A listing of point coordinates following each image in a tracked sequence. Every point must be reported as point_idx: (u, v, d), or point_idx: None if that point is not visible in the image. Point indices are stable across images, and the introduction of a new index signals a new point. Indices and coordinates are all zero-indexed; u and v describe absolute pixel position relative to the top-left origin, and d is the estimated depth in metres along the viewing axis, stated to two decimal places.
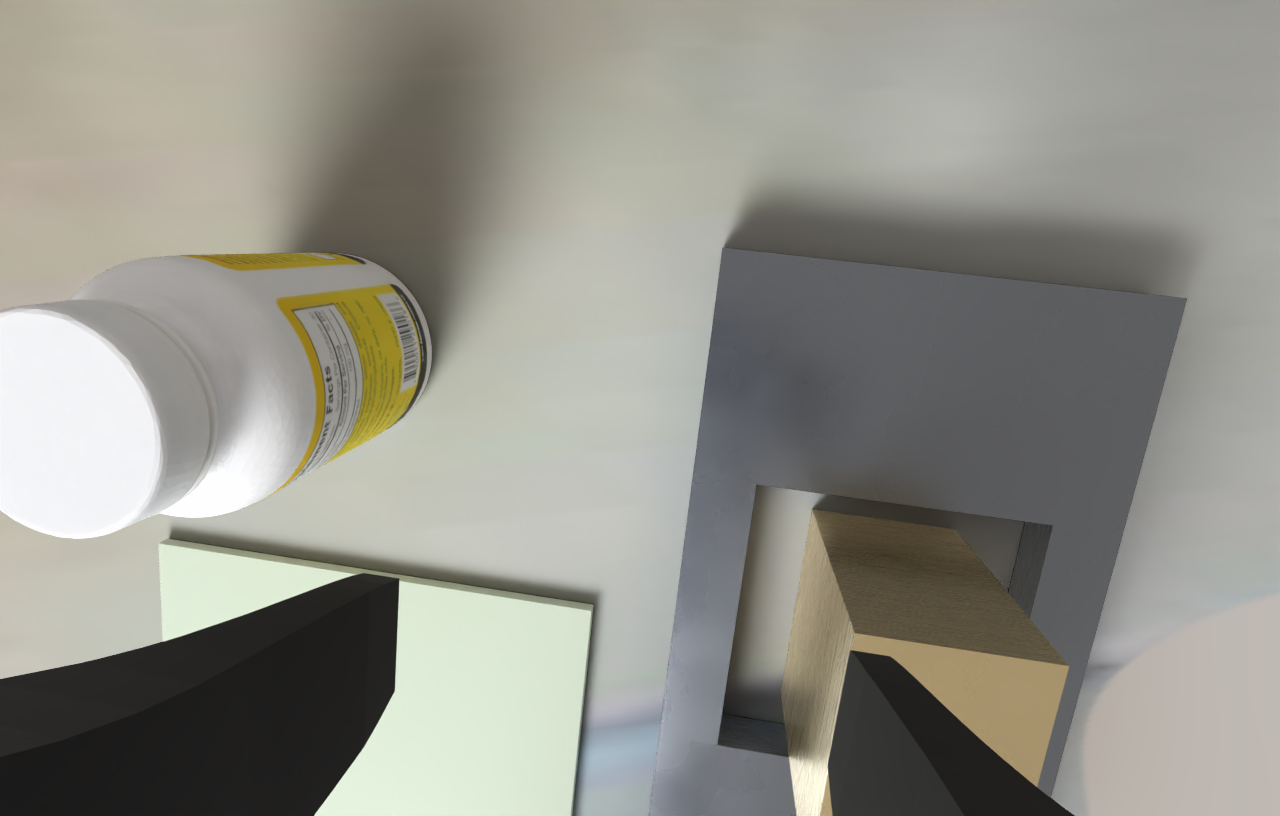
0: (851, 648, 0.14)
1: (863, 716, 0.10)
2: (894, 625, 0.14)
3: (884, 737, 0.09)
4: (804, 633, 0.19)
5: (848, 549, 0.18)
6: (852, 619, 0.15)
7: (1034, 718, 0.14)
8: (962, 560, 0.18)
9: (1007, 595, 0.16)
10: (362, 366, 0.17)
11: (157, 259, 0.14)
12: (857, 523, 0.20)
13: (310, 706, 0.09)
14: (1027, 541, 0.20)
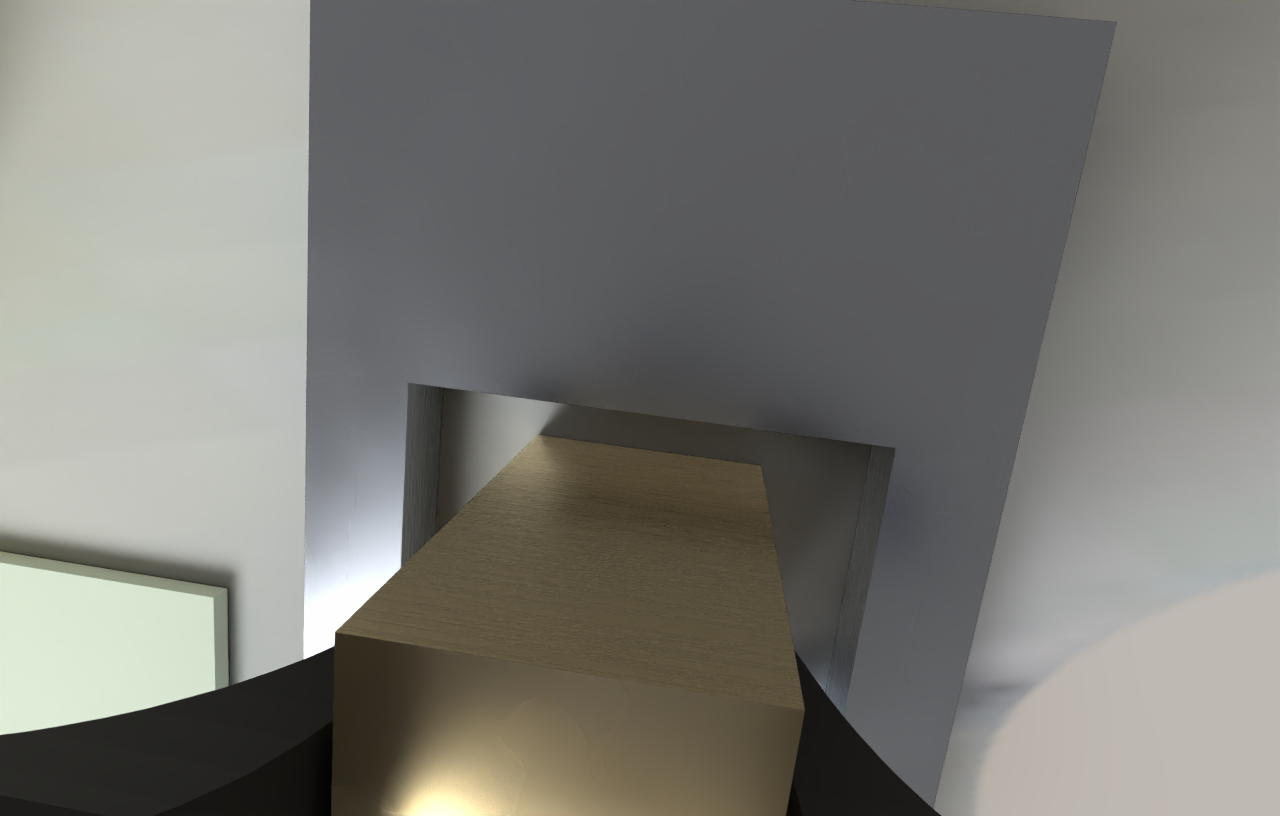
0: (337, 666, 0.06)
1: None
2: (457, 616, 0.07)
3: None
4: None
5: (530, 486, 0.10)
6: (371, 603, 0.07)
7: None
8: (733, 507, 0.10)
9: (773, 562, 0.09)
10: None
11: None
12: (595, 454, 0.12)
13: None
14: (870, 482, 0.12)
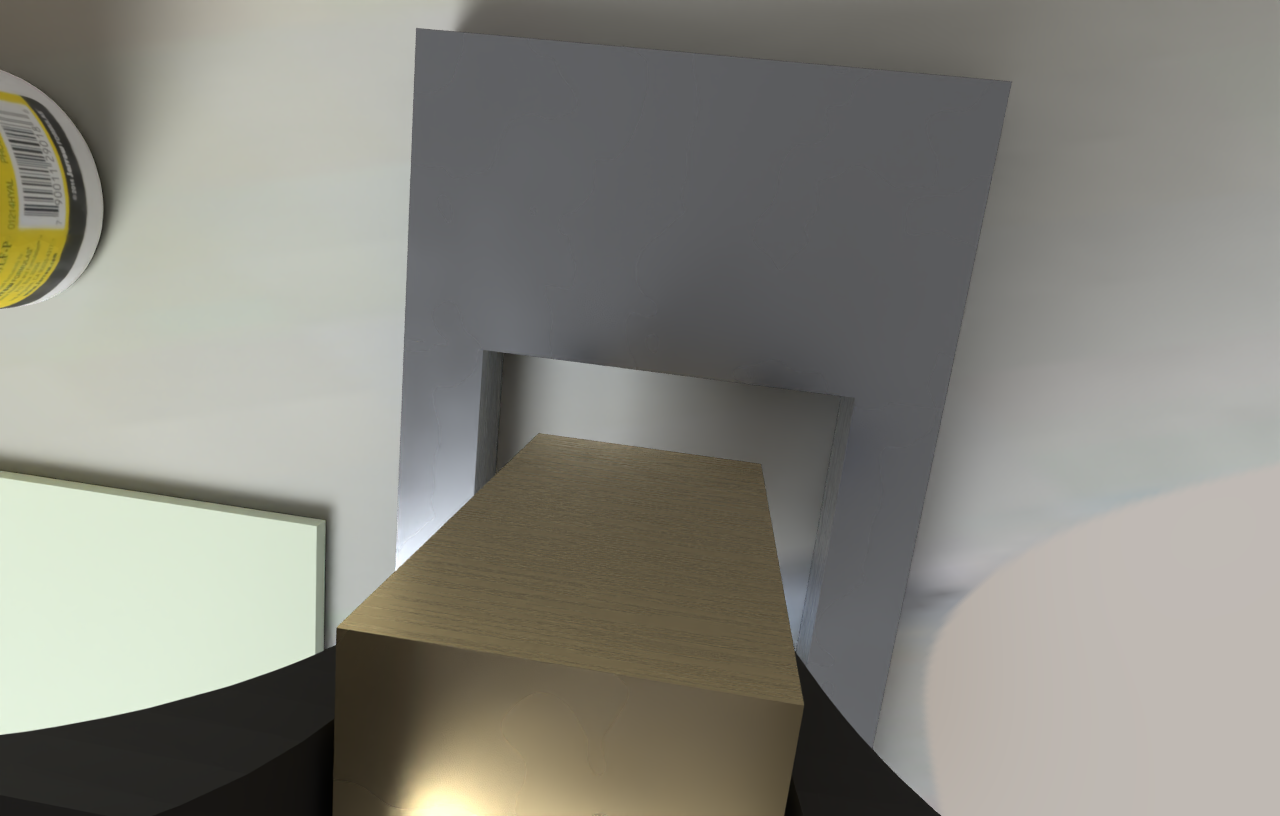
0: (339, 662, 0.06)
1: None
2: (458, 611, 0.07)
3: None
4: None
5: (531, 485, 0.10)
6: (373, 598, 0.07)
7: None
8: (732, 505, 0.10)
9: (772, 559, 0.09)
10: None
11: None
12: (596, 452, 0.12)
13: None
14: (838, 428, 0.16)
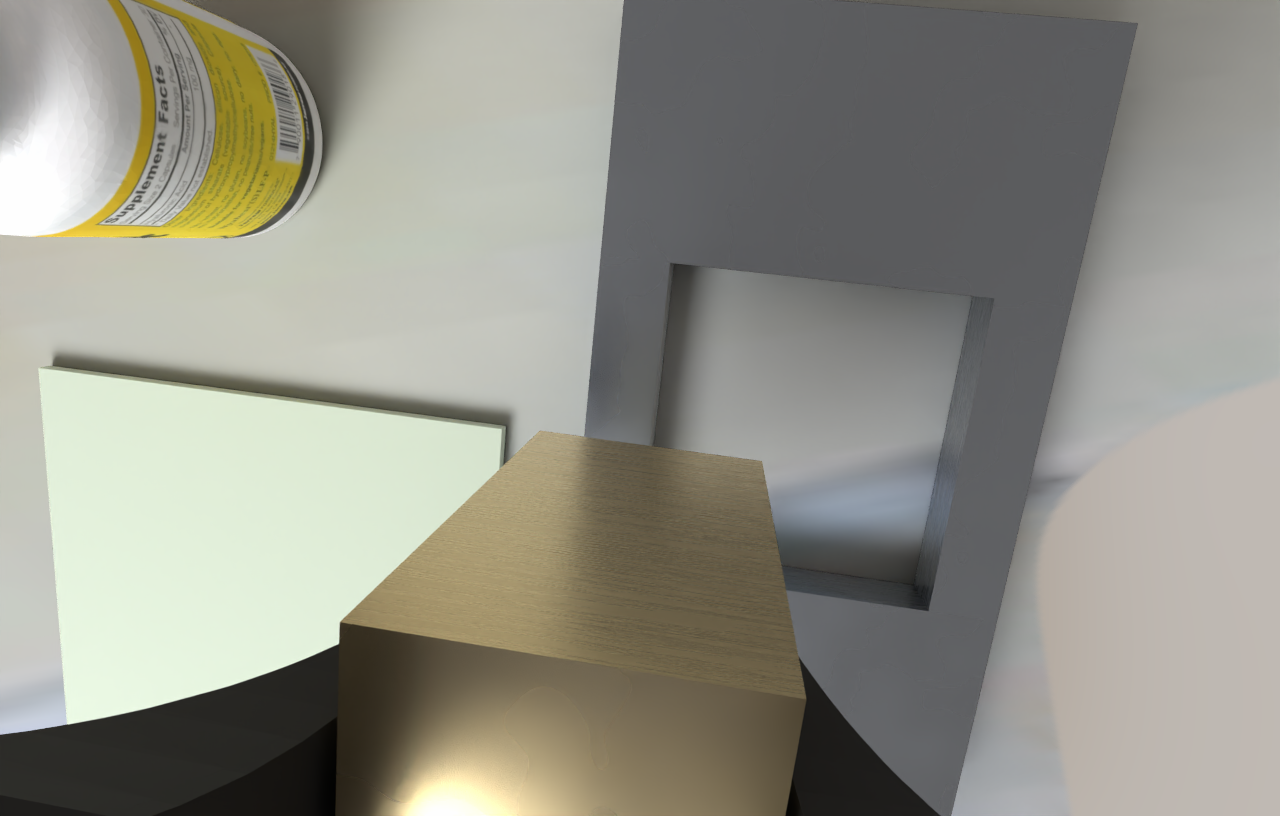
0: (342, 656, 0.06)
1: None
2: (461, 607, 0.07)
3: None
4: None
5: (532, 481, 0.10)
6: (375, 593, 0.07)
7: None
8: (734, 502, 0.10)
9: (774, 555, 0.09)
10: (215, 95, 0.15)
11: None
12: (597, 449, 0.12)
13: None
14: (970, 332, 0.18)
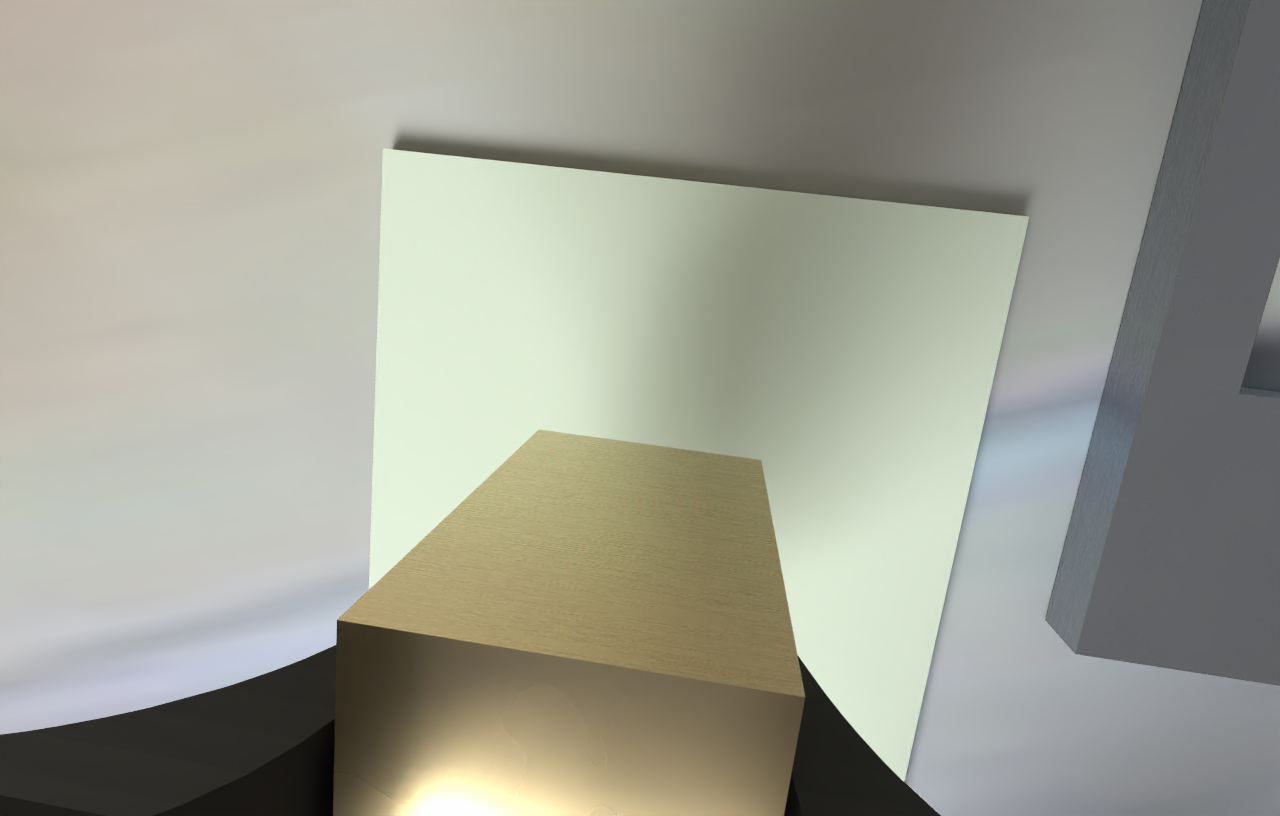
0: (340, 654, 0.06)
1: None
2: (459, 604, 0.07)
3: None
4: None
5: (531, 480, 0.10)
6: (372, 590, 0.07)
7: (739, 814, 0.06)
8: (734, 500, 0.10)
9: (773, 553, 0.09)
10: None
11: None
12: (596, 448, 0.12)
13: None
14: None
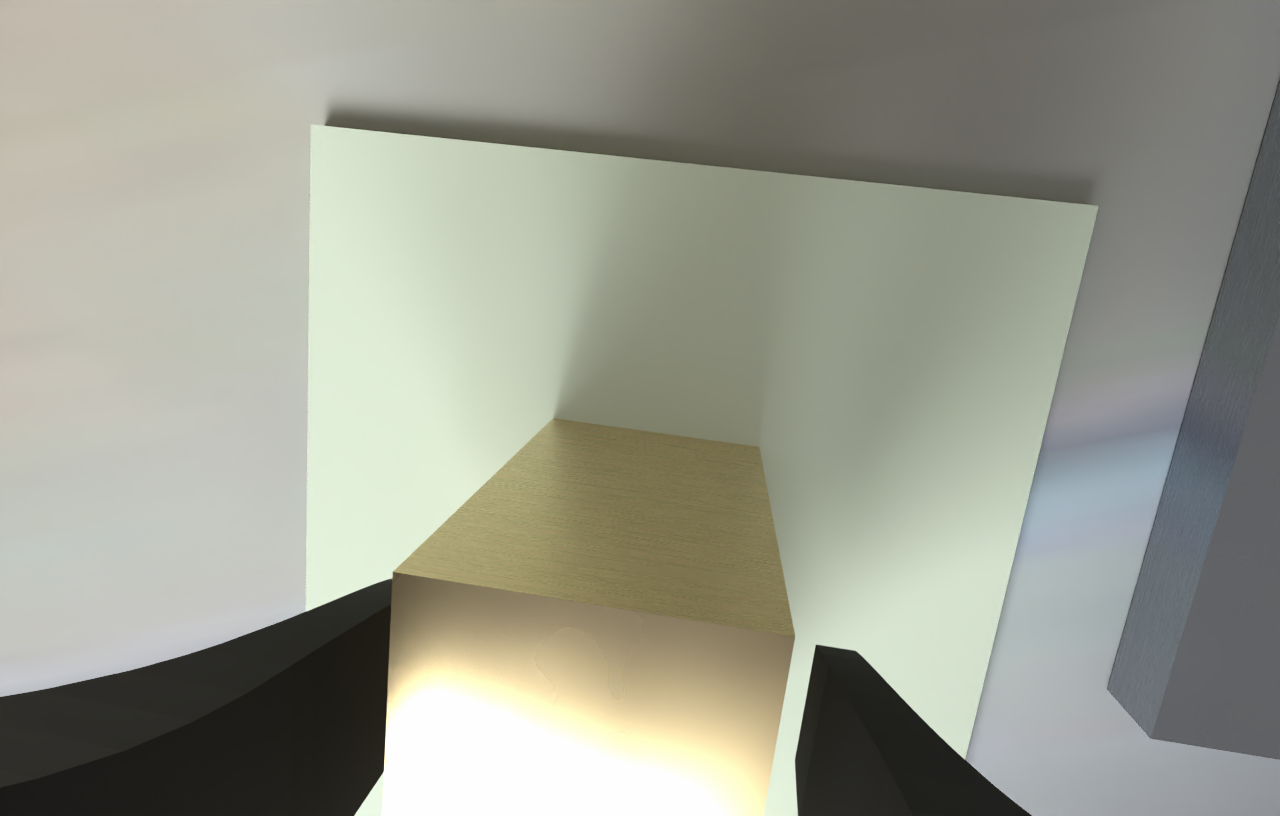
0: (394, 602, 0.07)
1: (825, 710, 0.10)
2: (495, 562, 0.08)
3: (842, 730, 0.09)
4: None
5: (549, 461, 0.11)
6: (421, 550, 0.08)
7: (738, 739, 0.07)
8: (733, 480, 0.11)
9: (769, 525, 0.10)
10: None
11: None
12: (606, 435, 0.13)
13: (347, 713, 0.09)
14: None
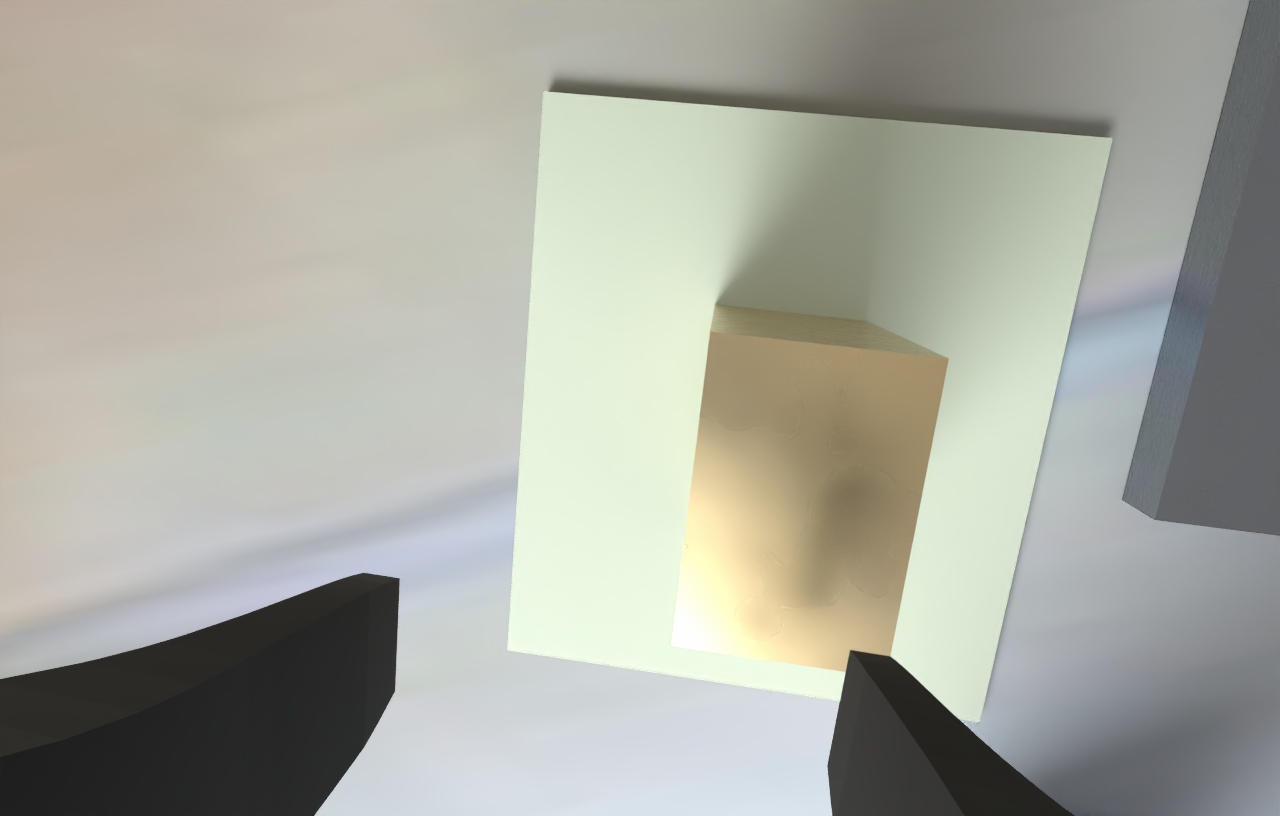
0: (708, 351, 0.13)
1: (863, 716, 0.10)
2: (759, 333, 0.13)
3: (884, 737, 0.09)
4: None
5: (739, 315, 0.16)
6: (713, 328, 0.13)
7: (913, 425, 0.12)
8: (864, 327, 0.17)
9: (903, 338, 0.15)
10: None
11: None
12: (760, 311, 0.18)
13: (311, 705, 0.09)
14: None
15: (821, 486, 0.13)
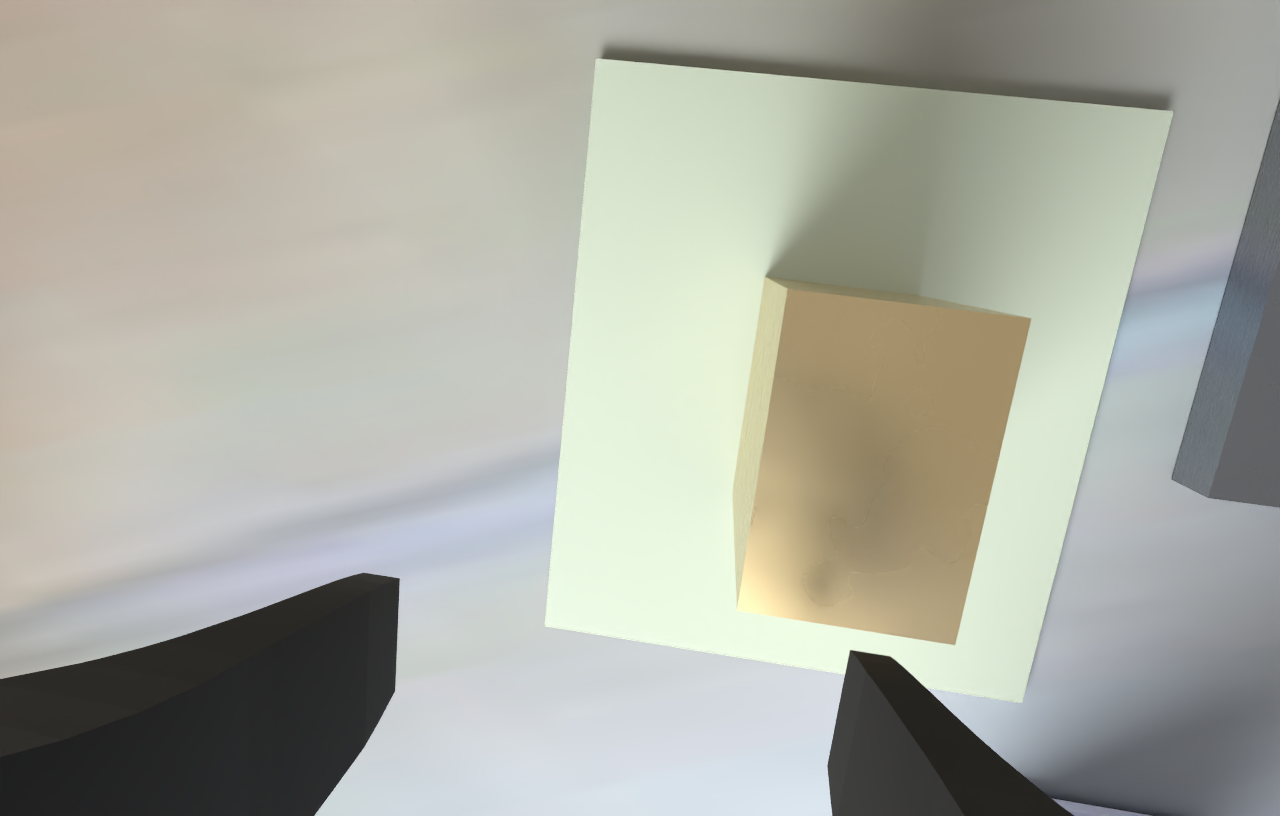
0: (784, 310, 0.12)
1: (863, 716, 0.10)
2: (834, 293, 0.13)
3: (884, 737, 0.09)
4: (752, 394, 0.18)
5: (797, 283, 0.16)
6: (788, 287, 0.13)
7: (992, 386, 0.12)
8: (923, 298, 0.16)
9: None
10: None
11: None
12: None
13: (310, 706, 0.09)
14: None
15: (896, 448, 0.13)
